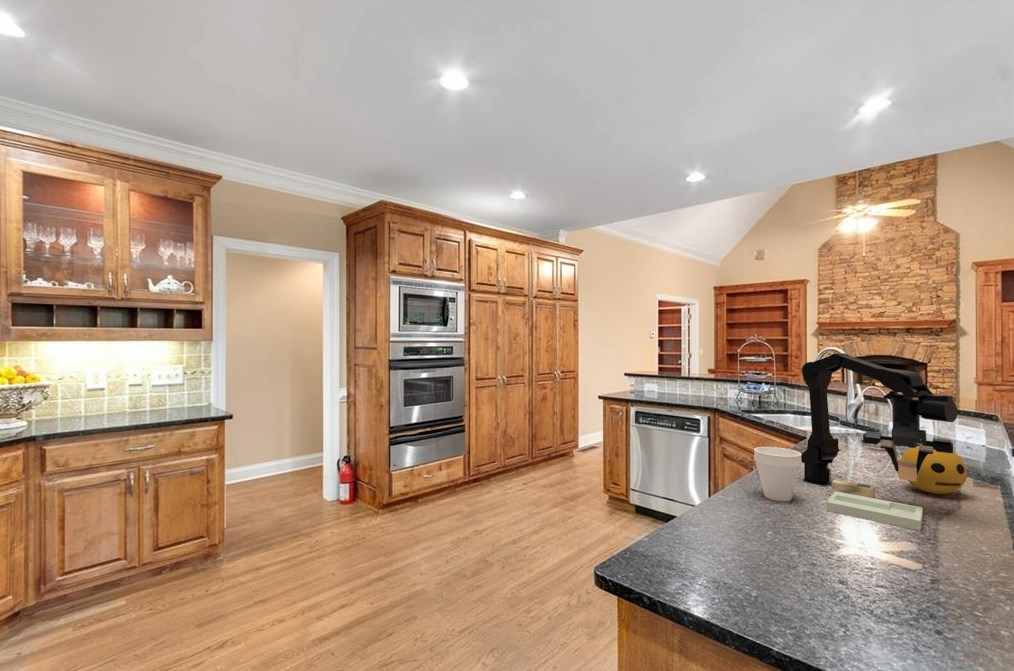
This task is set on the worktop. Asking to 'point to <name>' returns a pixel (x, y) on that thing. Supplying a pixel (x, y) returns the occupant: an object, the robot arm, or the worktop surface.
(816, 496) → the worktop surface
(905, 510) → the jig
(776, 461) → the cup
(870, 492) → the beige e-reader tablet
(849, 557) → the worktop surface
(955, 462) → the toy
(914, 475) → the orange rectangular block
